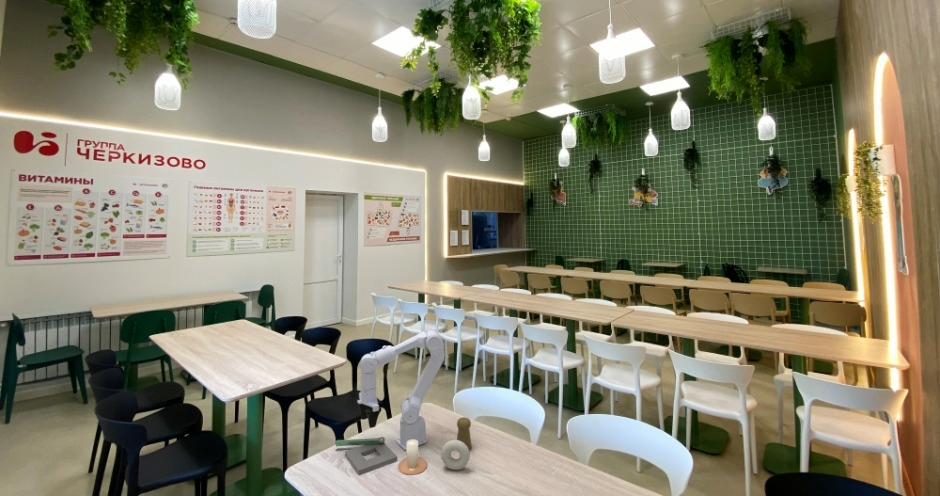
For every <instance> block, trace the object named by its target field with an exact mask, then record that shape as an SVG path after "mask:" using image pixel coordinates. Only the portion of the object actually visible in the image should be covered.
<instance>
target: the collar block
mask: <svg viewBox="0 0 940 496" xmlns="http://www.w3.org/2000/svg"><path fill="white" fill-rule="evenodd" d="M373 453H375V454H376V456H375V457H371V458H368V459H366V458H365V457H364V456H367V455H370V454H373ZM344 456H345V458H346V459H347V461H348V462H349V463H350V465H351V466H352V468H353V469H354V470H355V471H356V473H357V475H358V476H360V475H363V474H365V473H368V472H370V471H371V472H372V471H374V470H375V469H379V468H381V467H383V466H387V465H389V464H392V463H395V462H397V461H398V455H396V453H395V452H394V451H393V450H392V449H391V448H390V447H389V446H388V445H387V444H386V443H384V444H382V445H379V444H371V445H359V446H357V447H354V448H351V449H348V450H345V451H344Z"/></svg>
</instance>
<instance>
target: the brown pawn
mask: <svg viewBox="0 0 940 496" xmlns="http://www.w3.org/2000/svg"><path fill="white" fill-rule="evenodd" d="M471 424H472V422H471V420H470V419H469V417H465V416H464V417H460V418H458V420H457V422H456V427H457V428H458V429H457V435H456V440H459V441H461V442H463V443H464V444H465V445H466V446H467V447H468V449H469V452H470V451H471V450H472V449H473V448H472V439H471V432H470V431H471V430H470V427H471Z"/></svg>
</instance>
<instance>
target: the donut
mask: <svg viewBox="0 0 940 496" xmlns="http://www.w3.org/2000/svg"><path fill="white" fill-rule="evenodd" d="M440 451H441V452H440V458H441V461H442V463H443V465H445V467H447V468H448V469H450V470H453V471H455V470H456V471H458V470H459V471H460V470H461V469H464V468H466V466H467V465H468V463H469V461H470V456H471V455H470V451H469V449H468V447H467V446H466V445H465V444H464V443H463V442H461V441H459V440H457V439H450V440H448V441H446V442H445V443H444V444H443V446H442V447H441V450H440ZM453 451H455V452H457V453H459V457H458V458H455V457H452V454H451V453H452V452H453Z"/></svg>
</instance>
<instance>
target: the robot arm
mask: <svg viewBox="0 0 940 496" xmlns="http://www.w3.org/2000/svg"><path fill="white" fill-rule="evenodd" d="M416 348H419V349H422V350H423V349H426V348H427V350H428V351H429V354H430V358H429V359H428V362H427V363H426V365H425V367H424V369H423V370H422V372H421V375H420V376H419V378H418V380H417V382H416V383H415V385H414V387H413V389H412V391H411V392H410V393H409V394H408V395H407V397H406V398H405V399H403V400H402V402H401V404H400V411H401V416H400V419H399V438H396V439H395V442H396V444H398V445H399V447H401V448H402V449H403V450H404V451H407V441H408V440H411V439H415V440H418V446H420V445H424V444H426V443H427V440H426V439H427V438H426V437H427V436H426V435H427V431H426V429H427V428H426V426H427V425H426V421H425V419H424V417H423V415H420V410H421V408H422V404H423V400H424V398H425V396H426V394H427V392H428V390H429V389H430V388H431V385H432V383H433V381H434V380H435V378H436V375H437V374H438V372H439V370H440V368H441V366H442V365H443V363H444V361H445V357H446V356H445V343H444V341H443V339H442V337H441V335H440V334H439V332H438V331H437V330H436V329H433V328H429V329H427V330H425V331H421V332H419V333H417V334H416V335H414V336H412V337H410V338H408V339H406V340H404V341H401V342H400V343H398V344H396V345H394V346H392V345H383V346H382V348H381V349H378V350H376V351H371V352H369V353H366V354H364V355H363V356H362V357H361V359H360V361H359V362H360V366H359V367H360V374H361V375H360V392H359V393H358V397H359V399H357V400H356V402H355V403H356V405H357V406H358V409H359V413H360V417H361V420H362V421H363V420H366V419H367V420H368V426H369V429H373V428H376V426H377V423H378V420H379V419H378V418H379V415H380V414H381V412H382V407H380V405H379V403H378V397H377V373H376V372H377V371H376V369H377V368H379V367H381V366H384V365H386V364H389V363H391V362H392V361H395V360H396V357H397V356H398V355H400V354H403V353H406V352H408V351H410V350H413V349H416Z"/></svg>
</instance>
